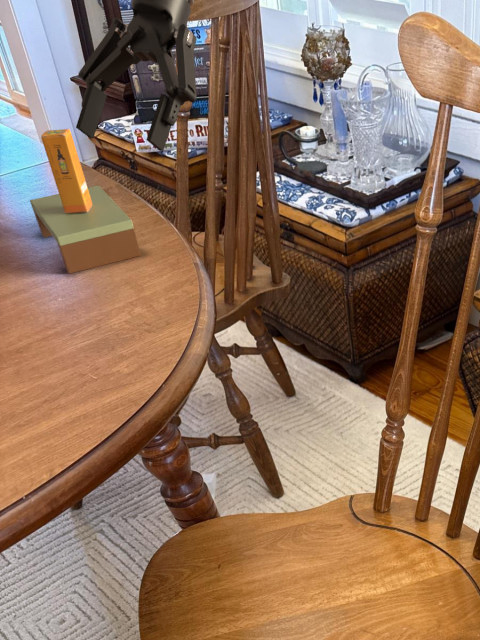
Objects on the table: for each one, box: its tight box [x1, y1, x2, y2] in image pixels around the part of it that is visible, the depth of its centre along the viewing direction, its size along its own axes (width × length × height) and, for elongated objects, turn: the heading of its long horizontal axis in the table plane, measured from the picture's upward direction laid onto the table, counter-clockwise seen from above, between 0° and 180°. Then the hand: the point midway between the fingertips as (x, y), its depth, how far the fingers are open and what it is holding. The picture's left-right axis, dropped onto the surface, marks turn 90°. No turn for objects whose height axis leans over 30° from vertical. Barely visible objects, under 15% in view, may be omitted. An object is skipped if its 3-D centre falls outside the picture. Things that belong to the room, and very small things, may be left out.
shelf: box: [29, 185, 142, 275], centre depth 110 cm, size 16×10×5 cm, turn 32°
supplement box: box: [40, 128, 92, 213], centre depth 105 cm, size 3×3×10 cm
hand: (118, 139), depth 111 cm, fingers open, 13 cm apart
